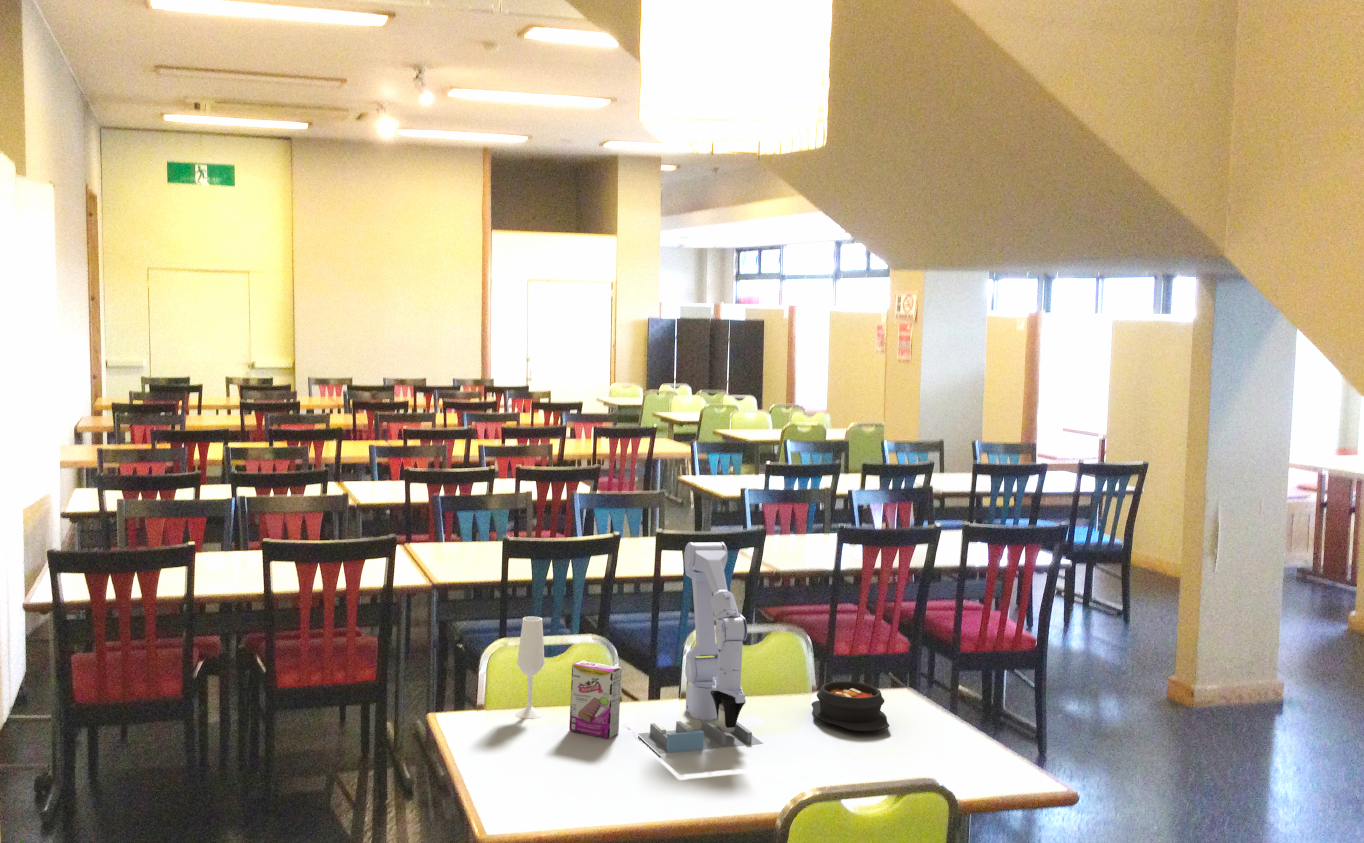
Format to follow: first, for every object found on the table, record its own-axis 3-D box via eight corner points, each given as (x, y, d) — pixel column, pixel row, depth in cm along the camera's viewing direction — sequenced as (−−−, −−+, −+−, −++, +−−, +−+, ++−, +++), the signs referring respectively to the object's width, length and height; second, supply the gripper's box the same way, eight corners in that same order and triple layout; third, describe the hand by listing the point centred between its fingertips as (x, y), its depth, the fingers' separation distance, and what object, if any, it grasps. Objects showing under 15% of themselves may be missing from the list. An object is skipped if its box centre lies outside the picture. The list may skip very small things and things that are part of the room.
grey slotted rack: (637, 737, 285) (638, 716, 284) (737, 728, 294) (738, 708, 294) (659, 757, 272) (660, 736, 271) (763, 747, 282) (764, 726, 281)
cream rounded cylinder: (715, 727, 287) (716, 703, 286) (730, 726, 288) (731, 701, 288) (721, 733, 283) (723, 708, 282) (737, 731, 284) (738, 706, 284)
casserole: (907, 735, 296) (908, 701, 295) (839, 740, 289) (841, 706, 289) (858, 704, 319) (859, 673, 318) (794, 709, 312) (796, 677, 312)
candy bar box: (568, 731, 287) (570, 663, 286) (578, 725, 291) (581, 659, 290) (609, 740, 282) (612, 671, 281) (619, 734, 287) (622, 666, 285)
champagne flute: (536, 719, 294) (539, 623, 293) (510, 716, 296) (514, 620, 294) (546, 712, 301) (550, 617, 299) (521, 708, 302) (525, 614, 301)
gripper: (701, 660, 290) (699, 715, 291) (726, 677, 276) (723, 735, 277) (728, 658, 292) (725, 713, 293) (754, 675, 279) (751, 732, 280)
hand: (726, 723), depth 285 cm, fingers closed on cream rounded cylinder, 4 cm apart
